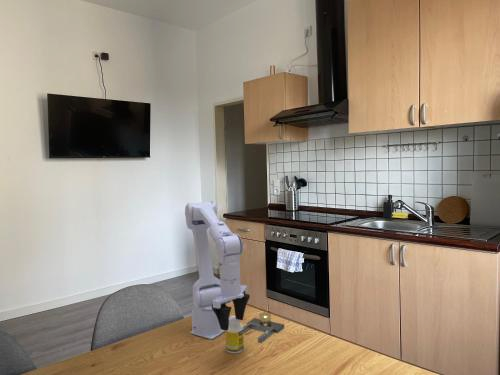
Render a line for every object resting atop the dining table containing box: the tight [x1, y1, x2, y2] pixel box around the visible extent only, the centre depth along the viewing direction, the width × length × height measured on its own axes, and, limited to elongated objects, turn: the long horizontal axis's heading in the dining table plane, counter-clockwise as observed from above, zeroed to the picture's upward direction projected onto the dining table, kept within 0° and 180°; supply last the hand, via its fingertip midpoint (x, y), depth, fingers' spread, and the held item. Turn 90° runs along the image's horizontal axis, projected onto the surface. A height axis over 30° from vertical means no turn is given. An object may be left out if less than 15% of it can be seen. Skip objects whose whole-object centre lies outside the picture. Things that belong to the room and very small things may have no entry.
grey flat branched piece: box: [243, 312, 285, 344], centre depth 123 cm, size 12×14×4 cm
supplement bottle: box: [225, 315, 245, 354], centre depth 111 cm, size 5×5×10 cm
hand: (232, 324), depth 105 cm, fingers open, 7 cm apart
